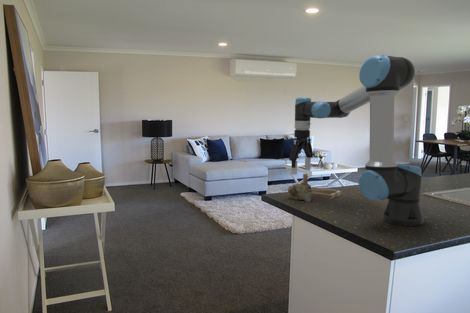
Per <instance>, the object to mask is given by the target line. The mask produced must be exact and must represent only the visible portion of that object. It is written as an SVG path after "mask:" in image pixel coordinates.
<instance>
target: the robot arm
mask: <svg viewBox="0 0 470 313" xmlns="http://www.w3.org/2000/svg"><path fill="white" fill-rule="evenodd" d="M358 74H359V78H358V79H359V81H360V83H361V85H362V86H360V87H359V88H357V89H355V90H354V91H352V92H350V93H348V94H347V95H345V96H343V97H342V98H340V99H338V100H336V101H312V98H311V97H296V98H295V101H294V102H295V104H294V135H293V137H294V138H295V139H293V140H292V145H291V149H290V152H289V156H288V160H289V161H291V165H290V166H291V169H290V171H291V173H290V174H291V175H298V158H299V155H300V152H301V150H303V152H304V155H305V158H304V171H311V164H312V163H311V159H312V158H313V157H314V152H313V147H312V141H311V140H312V139H311V138H310V137H311V130H310V129H311V125H312V123H311V118H313V119H328V118H329V119H331V118H332V119H334V118H335V119H337V118H338V119H342V118H347V117H349V115H350V114H351V112H353V111H355V110H357V109H359V108H361V107H363V106H365V105H367V104H369V160H368V161H367V162H365V167H364V168H365V169H364V170H365V171H363V172H362V173H361V174H360V175H359V177H358V186H359V189H360V191H361V193H362V194H363V196H364V197H366V198H367V199H369V200H371V201H384V200H387V202H386V205H385V207H384V209H383V212H382V220H383V221H384V222H387V223H389V224H392V225H396V226H403V227H417V226H421V225H423V224H424V214H423V211H422V207H421V203H420V201H421V188H422V185H421V184H422V178H423V175H422V168H421V167H419V166H417V165H411V164H406V163H405V164H404V163H396V161H395V159H394V158H395V156H394V152H395V151H394V148H395V146H394V145H395V144H394V143H395V96H397V94H398V93H399V92H400V90H402V89H404V88H406V87H407V86H410V84H411V83H412V81H413V80H414V78H415V74H416V69H415V65H414V64H413V62H412V61H411V60H410V59H408V58H406V57H402V56H392V55H385V54H380V55H379V54H378V55H377V54H376V55H372V56H370V57H368V58H367V59H366V60H365V61H364V62H363V63H362V65H361V66H360V69H359V72H358Z"/></svg>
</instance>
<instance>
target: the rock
mask: <svg viewBox="0 0 470 313" xmlns="http://www.w3.org/2000/svg"><path fill="white" fill-rule="evenodd" d="M308 183H309V182H308ZM308 183H303V181H301V182H300V183H295V184H293V185H289V186H288V188H287V194H288V197H289V199H292V200H297V201H298V200H299V201H300V200H303V201H304V202H306V203H310V202H311V201H312V197H313V196H312V195H313V192H314V191H312V189H311V187H312V186H311V185H310V184H308Z"/></svg>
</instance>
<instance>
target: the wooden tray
mask: <svg viewBox="0 0 470 313" xmlns="http://www.w3.org/2000/svg"><path fill="white" fill-rule="evenodd" d="M308 176H309V174H308V173H302V182H303V183H309V182H308V181H309V178H308ZM311 189H312V192H313V195H312V196H311V197H312V198H313V197H314V198H319V199H326V200H332V199H335V198H337V197H339V196H342V195H343V194H342V193H343V192H342V190H337V189H331V188H324V187H318V186H311Z"/></svg>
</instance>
